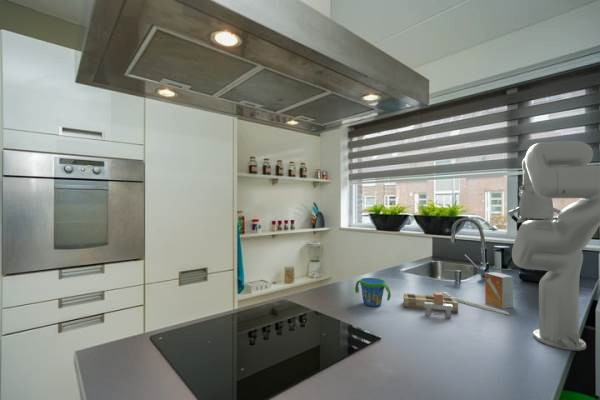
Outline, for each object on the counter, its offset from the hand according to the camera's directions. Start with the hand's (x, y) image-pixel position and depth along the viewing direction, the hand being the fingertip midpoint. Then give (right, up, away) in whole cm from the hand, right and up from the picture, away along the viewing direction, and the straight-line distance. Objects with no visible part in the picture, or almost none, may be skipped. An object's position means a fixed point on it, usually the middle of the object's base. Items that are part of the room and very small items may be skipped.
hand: (535, 233), depth 114 cm
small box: (-6, -32, +12) cm, 35 cm away
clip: (-38, -32, 0) cm, 49 cm away
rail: (-37, -32, +9) cm, 50 cm away
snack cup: (-60, -32, +13) cm, 69 cm away
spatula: (-17, -33, +13) cm, 39 cm away
